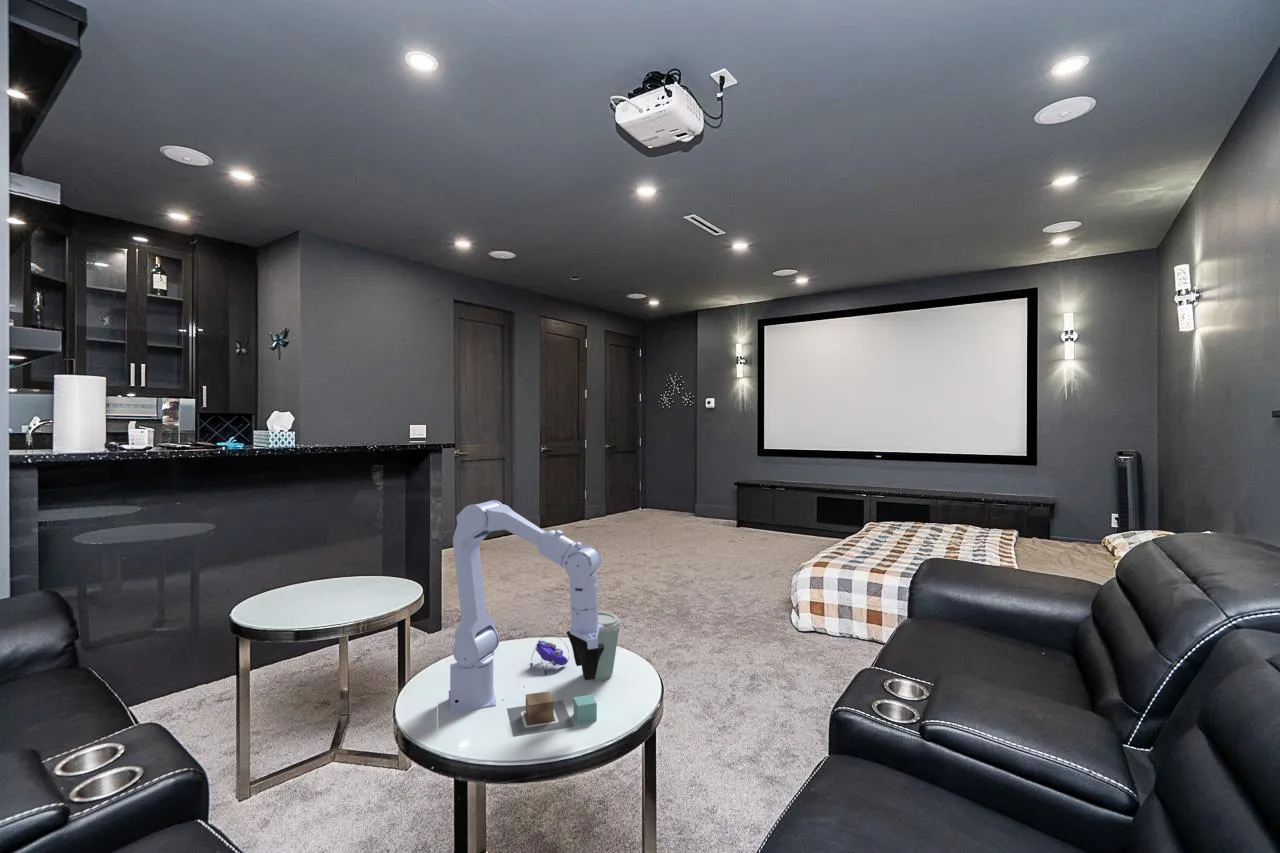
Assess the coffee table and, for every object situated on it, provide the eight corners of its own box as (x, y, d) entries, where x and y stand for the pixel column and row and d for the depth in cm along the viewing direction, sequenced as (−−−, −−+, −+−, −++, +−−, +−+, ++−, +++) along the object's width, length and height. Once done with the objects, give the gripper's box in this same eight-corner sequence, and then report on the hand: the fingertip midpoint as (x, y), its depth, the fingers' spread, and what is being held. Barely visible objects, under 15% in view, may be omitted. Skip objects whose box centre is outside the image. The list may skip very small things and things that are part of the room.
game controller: (581, 649, 150) (555, 654, 142) (569, 679, 150) (543, 685, 142) (555, 630, 156) (529, 633, 148) (544, 658, 156) (517, 663, 148)
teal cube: (577, 725, 120) (577, 705, 120) (573, 716, 123) (573, 697, 123) (596, 722, 121) (596, 702, 121) (592, 713, 125) (592, 694, 125)
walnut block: (528, 724, 119) (529, 705, 119) (525, 713, 124) (525, 694, 124) (553, 721, 121) (553, 701, 121) (549, 709, 125) (549, 691, 125)
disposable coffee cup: (614, 665, 149) (614, 606, 149) (626, 683, 139) (626, 619, 139) (573, 670, 146) (573, 610, 146) (582, 689, 136) (582, 624, 136)
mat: (513, 737, 114) (513, 736, 114) (507, 709, 126) (507, 708, 126) (573, 728, 118) (573, 726, 118) (562, 701, 130) (562, 699, 130)
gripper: (612, 614, 117) (613, 682, 117) (594, 595, 131) (595, 656, 130) (577, 618, 115) (578, 688, 114) (562, 598, 128) (563, 661, 128)
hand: (585, 671), depth 122 cm, fingers open, 7 cm apart
